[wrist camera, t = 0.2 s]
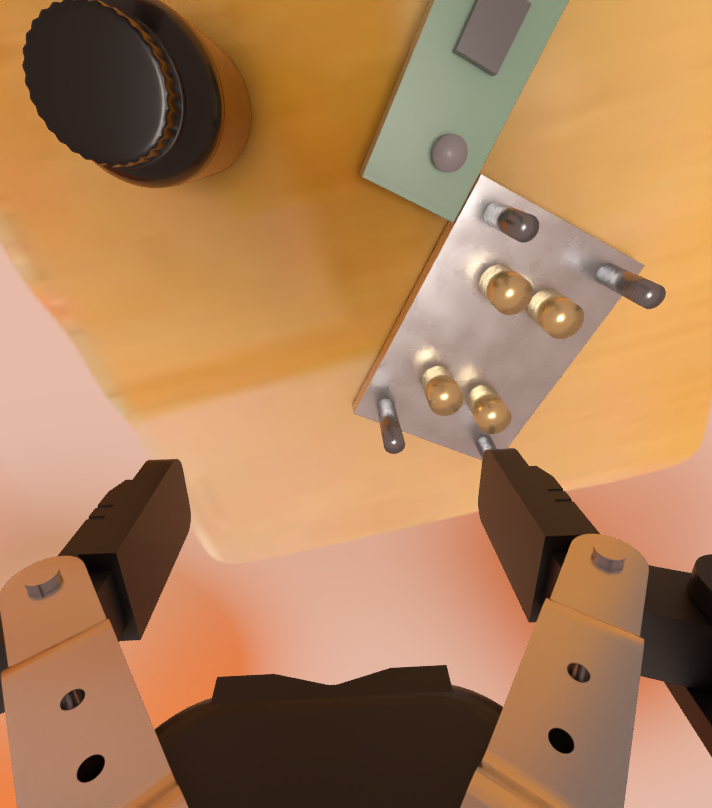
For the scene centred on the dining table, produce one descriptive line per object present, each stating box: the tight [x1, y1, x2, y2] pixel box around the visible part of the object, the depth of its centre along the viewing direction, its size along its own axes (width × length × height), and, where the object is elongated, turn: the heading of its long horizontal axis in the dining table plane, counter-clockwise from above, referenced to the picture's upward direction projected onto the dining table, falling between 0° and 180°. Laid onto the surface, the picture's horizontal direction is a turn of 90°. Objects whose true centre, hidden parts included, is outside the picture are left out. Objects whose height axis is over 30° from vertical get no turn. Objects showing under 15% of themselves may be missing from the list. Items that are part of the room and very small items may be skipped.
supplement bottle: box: [22, 0, 251, 188], centre depth 21 cm, size 7×7×12 cm
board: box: [359, 0, 569, 222], centre depth 25 cm, size 12×6×4 cm, turn 156°
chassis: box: [353, 174, 666, 460], centre depth 31 cm, size 18×13×6 cm
